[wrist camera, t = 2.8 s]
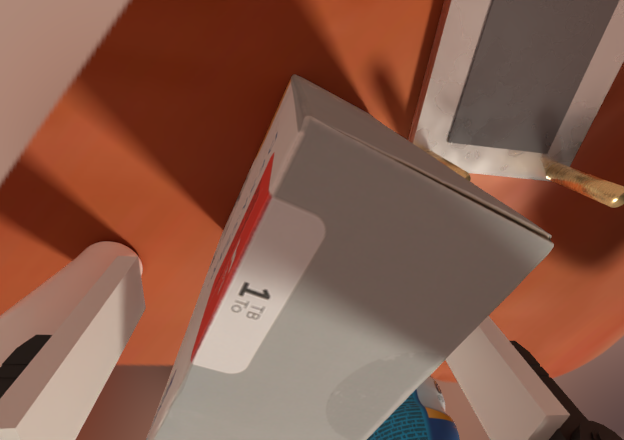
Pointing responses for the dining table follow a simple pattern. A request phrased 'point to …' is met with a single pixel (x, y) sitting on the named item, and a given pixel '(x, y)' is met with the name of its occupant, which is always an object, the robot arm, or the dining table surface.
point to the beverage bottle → (419, 417)
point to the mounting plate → (520, 88)
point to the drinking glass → (57, 296)
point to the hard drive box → (338, 281)
